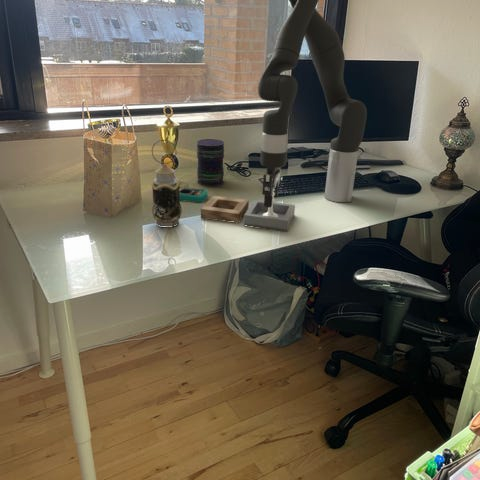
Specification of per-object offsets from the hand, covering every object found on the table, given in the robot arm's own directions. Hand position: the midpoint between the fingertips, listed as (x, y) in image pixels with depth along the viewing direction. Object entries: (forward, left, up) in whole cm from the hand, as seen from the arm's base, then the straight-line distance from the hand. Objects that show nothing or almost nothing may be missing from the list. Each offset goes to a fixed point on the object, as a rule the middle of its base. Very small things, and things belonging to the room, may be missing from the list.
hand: (270, 201), depth 138 cm
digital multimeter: (+32, -10, -7) cm, 34 cm away
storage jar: (+28, -28, -6) cm, 40 cm away
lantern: (+28, +12, -6) cm, 32 cm away
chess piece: (0, 0, -5) cm, 5 cm away
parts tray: (0, 0, -6) cm, 6 cm away
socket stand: (+14, -1, -6) cm, 16 cm away
